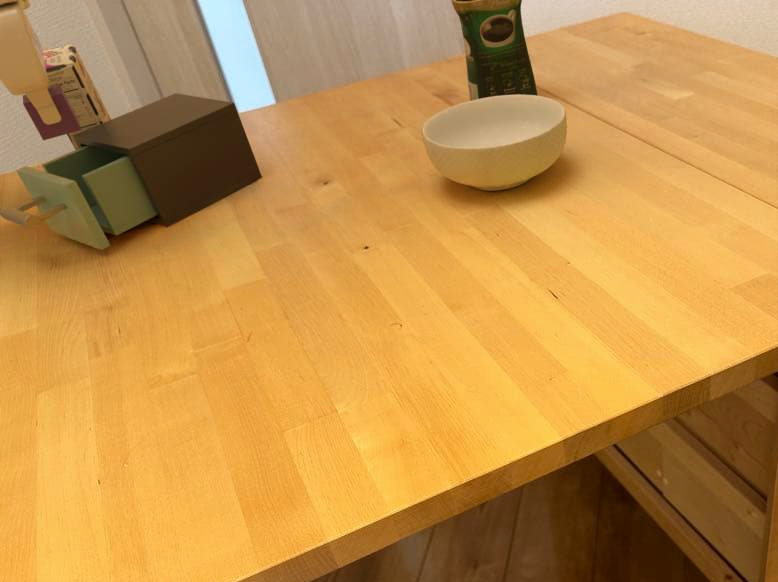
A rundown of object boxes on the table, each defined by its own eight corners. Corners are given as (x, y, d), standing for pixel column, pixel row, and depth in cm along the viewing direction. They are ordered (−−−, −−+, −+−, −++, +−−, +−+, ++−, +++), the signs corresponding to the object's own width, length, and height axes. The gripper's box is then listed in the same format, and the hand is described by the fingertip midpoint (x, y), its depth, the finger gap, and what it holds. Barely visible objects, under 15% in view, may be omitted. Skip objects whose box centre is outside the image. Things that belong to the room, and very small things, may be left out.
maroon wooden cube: (42, 131, 87) (22, 95, 84) (79, 120, 88) (60, 85, 85) (43, 140, 84) (22, 103, 81) (81, 130, 85) (62, 93, 82)
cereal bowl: (590, 187, 86) (585, 125, 82) (448, 222, 84) (435, 160, 80) (548, 137, 99) (541, 81, 95) (423, 166, 97) (410, 111, 92)
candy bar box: (97, 170, 111) (35, 51, 100) (132, 160, 112) (75, 42, 102) (97, 197, 103) (30, 71, 92) (136, 186, 104) (74, 60, 93)
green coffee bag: (528, 89, 114) (510, -52, 103) (543, 105, 108) (525, -43, 97) (466, 103, 113) (440, -38, 101) (477, 120, 107) (451, -28, 95)
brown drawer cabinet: (167, 227, 92) (129, 149, 86) (111, 209, 99) (72, 135, 93) (262, 177, 101) (234, 102, 95) (205, 163, 107) (175, 93, 101)
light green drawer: (62, 270, 85) (23, 204, 80) (14, 249, 91) (-26, 187, 86) (199, 199, 95) (172, 137, 90) (148, 185, 101) (120, 126, 96)
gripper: (-52, -29, 82) (21, 101, 91) (-63, -2, 68) (24, 149, 77) (11, -42, 84) (76, 86, 93) (13, -19, 70) (89, 131, 79)
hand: (53, 115), depth 85 cm, fingers closed on maroon wooden cube, 4 cm apart
